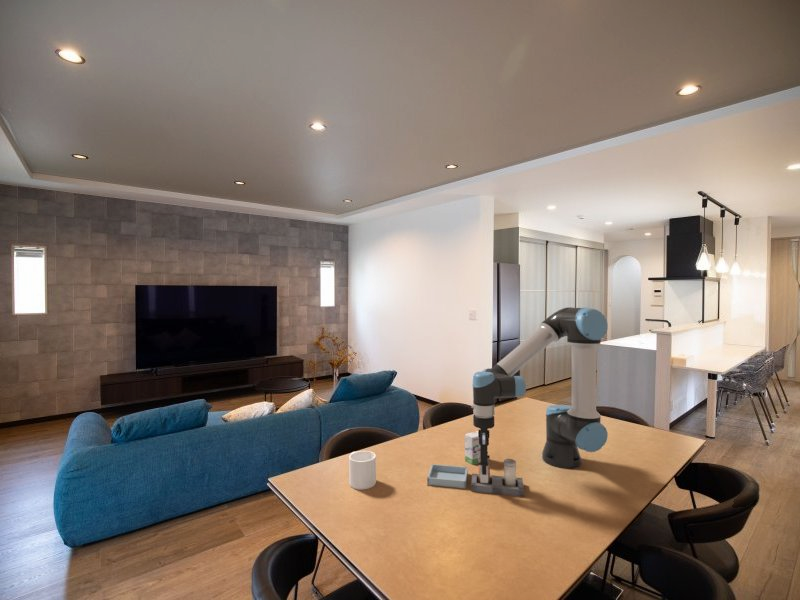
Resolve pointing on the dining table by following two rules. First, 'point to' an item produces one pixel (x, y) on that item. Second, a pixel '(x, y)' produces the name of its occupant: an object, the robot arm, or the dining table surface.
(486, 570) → the dining table surface
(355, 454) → the mug
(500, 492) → the block
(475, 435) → the ink box
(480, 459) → the fuse
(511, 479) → the cylinder
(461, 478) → the parts tray
